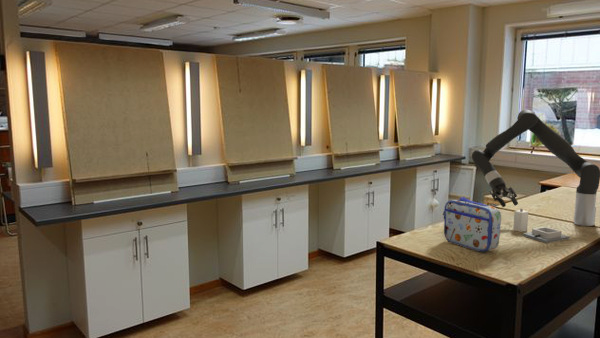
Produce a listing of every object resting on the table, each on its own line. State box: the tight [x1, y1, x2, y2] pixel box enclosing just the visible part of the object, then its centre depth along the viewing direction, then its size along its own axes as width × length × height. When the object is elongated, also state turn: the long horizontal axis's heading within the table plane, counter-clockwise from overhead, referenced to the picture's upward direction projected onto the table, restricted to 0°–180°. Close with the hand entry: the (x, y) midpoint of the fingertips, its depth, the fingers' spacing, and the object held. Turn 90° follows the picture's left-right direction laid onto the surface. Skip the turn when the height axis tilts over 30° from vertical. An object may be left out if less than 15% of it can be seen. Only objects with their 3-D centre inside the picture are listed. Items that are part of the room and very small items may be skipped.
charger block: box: [512, 208, 529, 233], centre depth 237 cm, size 5×5×11 cm
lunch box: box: [442, 196, 502, 252], centre depth 211 cm, size 28×10×22 cm, turn 32°
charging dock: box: [522, 226, 571, 244], centre depth 225 cm, size 16×13×4 cm
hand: (510, 205), depth 242 cm, fingers open, 8 cm apart
